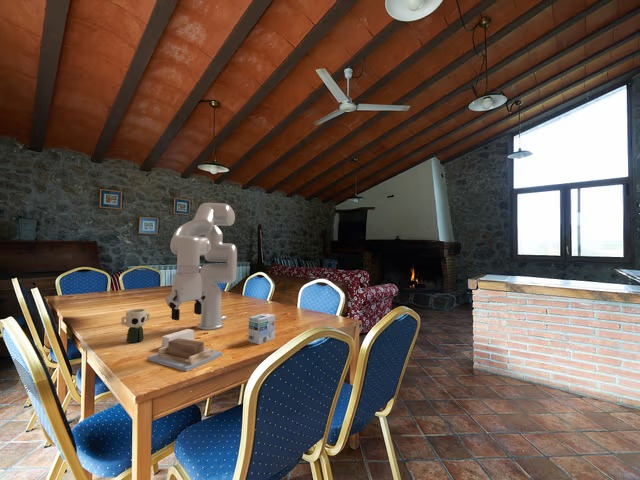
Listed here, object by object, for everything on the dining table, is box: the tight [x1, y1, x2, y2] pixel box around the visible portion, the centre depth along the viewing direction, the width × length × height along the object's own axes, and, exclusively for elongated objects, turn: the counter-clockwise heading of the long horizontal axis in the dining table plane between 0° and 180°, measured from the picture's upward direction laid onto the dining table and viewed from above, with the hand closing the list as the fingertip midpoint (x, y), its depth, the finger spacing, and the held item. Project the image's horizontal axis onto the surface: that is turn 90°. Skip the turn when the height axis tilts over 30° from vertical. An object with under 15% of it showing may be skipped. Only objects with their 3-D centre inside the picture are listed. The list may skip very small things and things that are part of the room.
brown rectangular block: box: [168, 338, 205, 359], centre depth 107 cm, size 4×12×5 cm, turn 71°
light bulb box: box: [247, 312, 276, 345], centre depth 130 cm, size 11×7×11 cm, turn 148°
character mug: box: [120, 308, 151, 343], centre depth 124 cm, size 11×7×13 cm, turn 145°
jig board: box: [147, 347, 223, 372], centre depth 108 cm, size 16×20×1 cm
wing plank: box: [161, 328, 195, 348], centre depth 122 cm, size 12×4×5 cm, turn 154°
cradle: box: [157, 346, 214, 365], centre depth 107 cm, size 9×17×2 cm, turn 64°
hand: (187, 316), depth 107 cm, fingers open, 9 cm apart
